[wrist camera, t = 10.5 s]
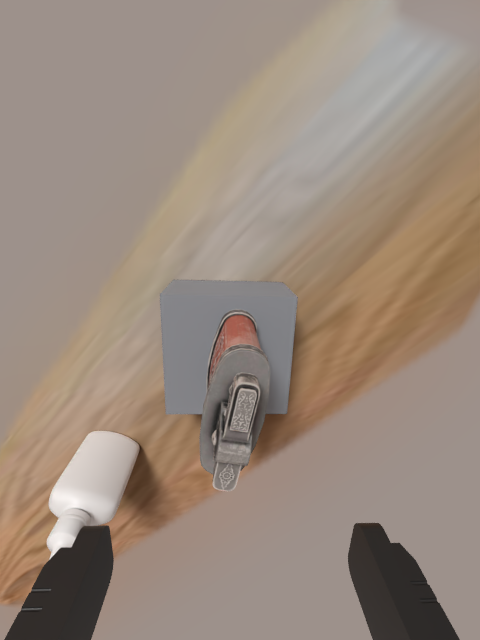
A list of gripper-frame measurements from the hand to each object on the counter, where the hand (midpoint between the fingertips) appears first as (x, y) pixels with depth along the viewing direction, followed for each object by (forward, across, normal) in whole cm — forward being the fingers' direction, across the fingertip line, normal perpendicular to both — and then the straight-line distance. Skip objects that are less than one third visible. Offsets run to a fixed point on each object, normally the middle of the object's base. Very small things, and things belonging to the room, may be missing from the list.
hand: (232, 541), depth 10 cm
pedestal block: (+20, 0, 0) cm, 20 cm away
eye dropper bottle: (+20, +12, +13) cm, 27 cm away
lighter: (+14, 0, 0) cm, 14 cm away
